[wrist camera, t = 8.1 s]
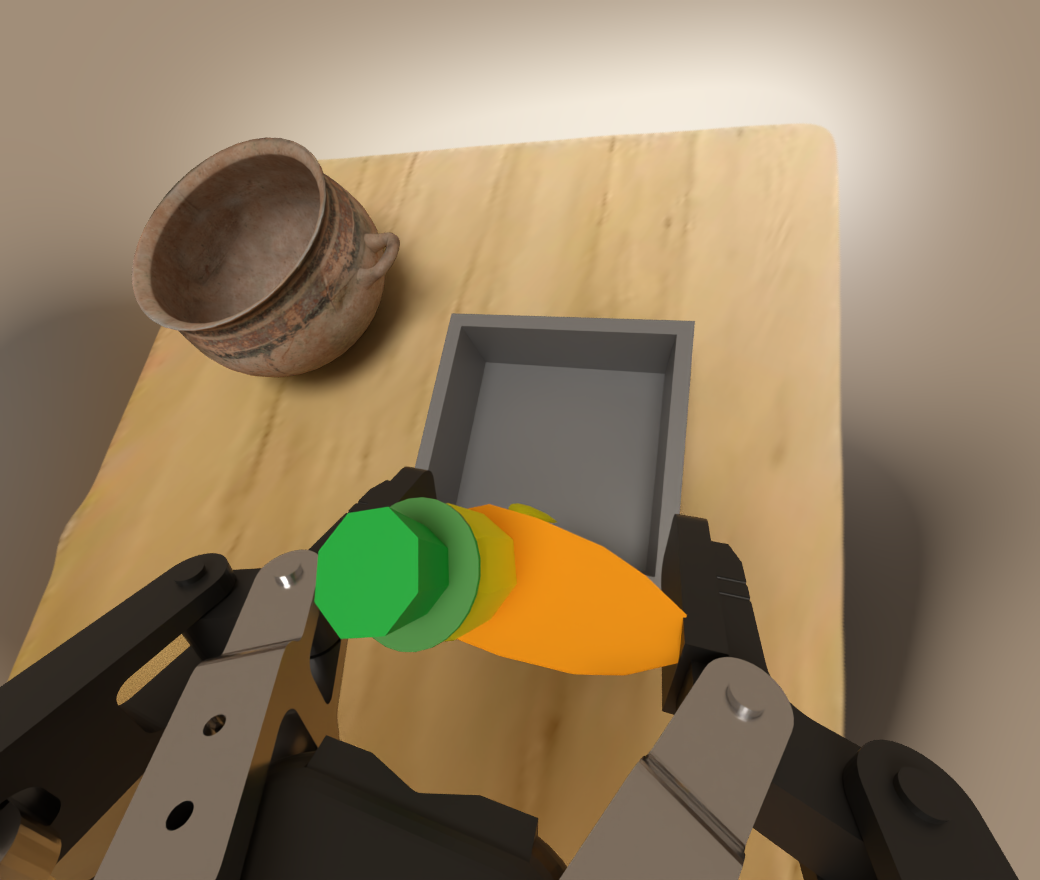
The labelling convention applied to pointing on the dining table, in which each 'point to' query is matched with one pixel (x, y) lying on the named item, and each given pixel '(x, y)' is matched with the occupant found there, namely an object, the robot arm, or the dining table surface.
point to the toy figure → (493, 588)
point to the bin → (566, 424)
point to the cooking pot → (262, 261)
